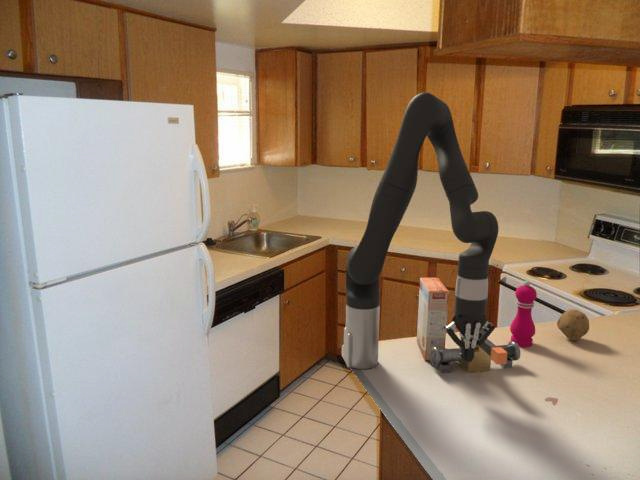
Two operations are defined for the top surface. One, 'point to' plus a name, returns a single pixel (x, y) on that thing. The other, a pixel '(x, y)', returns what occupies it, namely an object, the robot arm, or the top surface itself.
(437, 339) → the cracker box
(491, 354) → the lever
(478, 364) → the valve pipe
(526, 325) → the pepper mill
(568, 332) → the brown rounded lump
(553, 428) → the top surface
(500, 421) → the top surface
